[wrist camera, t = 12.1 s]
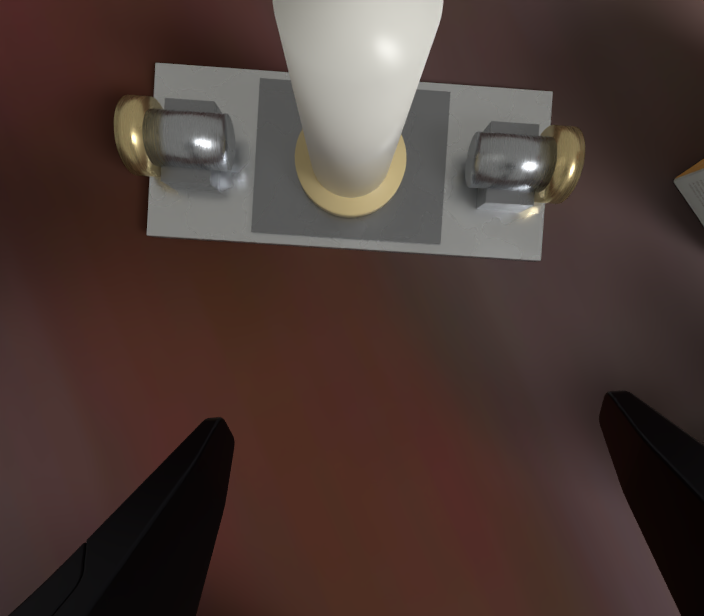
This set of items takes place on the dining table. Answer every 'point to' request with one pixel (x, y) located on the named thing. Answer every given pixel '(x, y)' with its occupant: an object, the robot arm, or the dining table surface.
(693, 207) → the small box
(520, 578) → the dining table surface
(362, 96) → the grey upright cylinder
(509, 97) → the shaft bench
